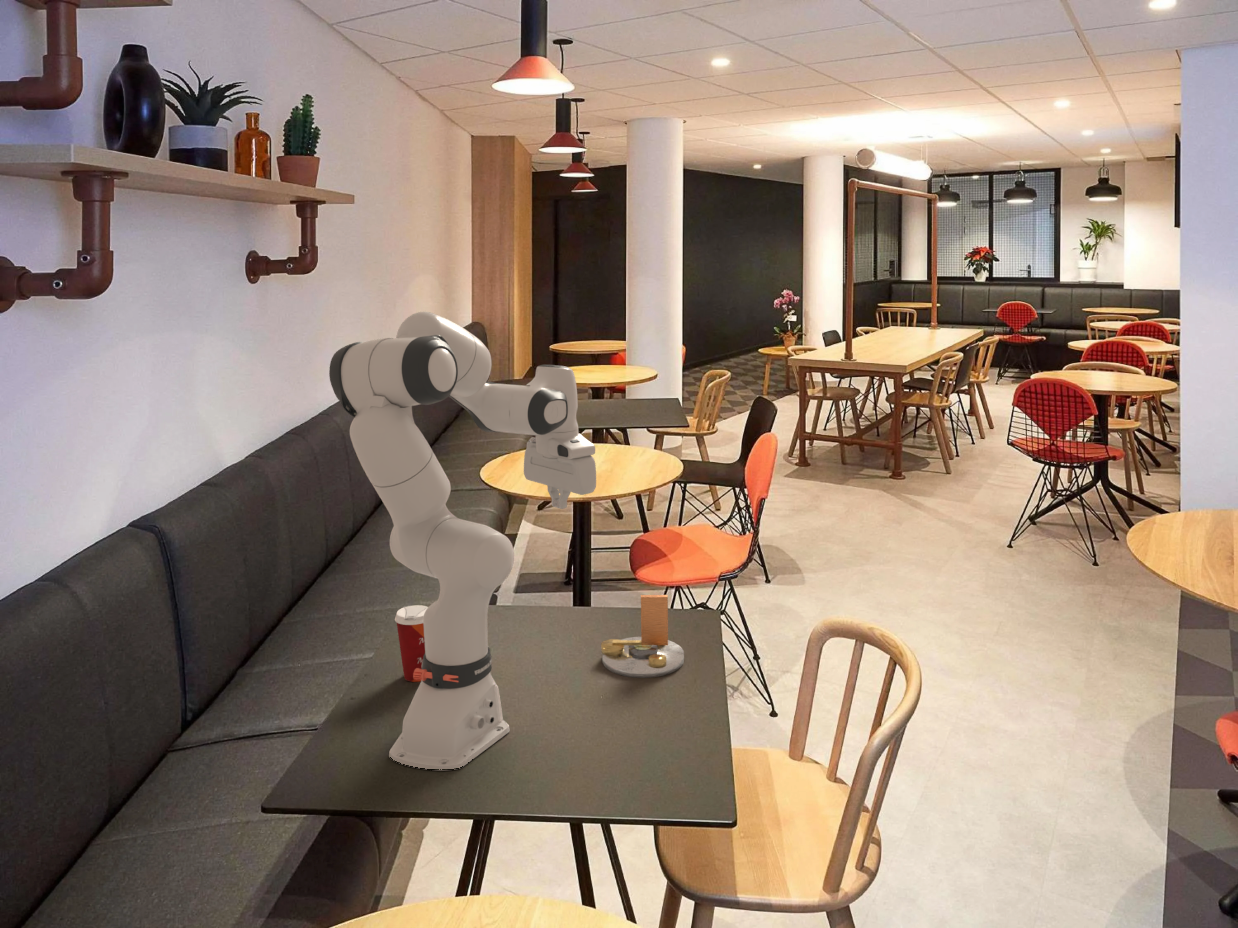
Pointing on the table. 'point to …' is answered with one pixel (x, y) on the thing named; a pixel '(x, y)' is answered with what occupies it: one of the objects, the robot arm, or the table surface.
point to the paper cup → (411, 638)
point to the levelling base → (645, 660)
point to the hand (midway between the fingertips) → (559, 507)
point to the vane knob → (645, 626)
